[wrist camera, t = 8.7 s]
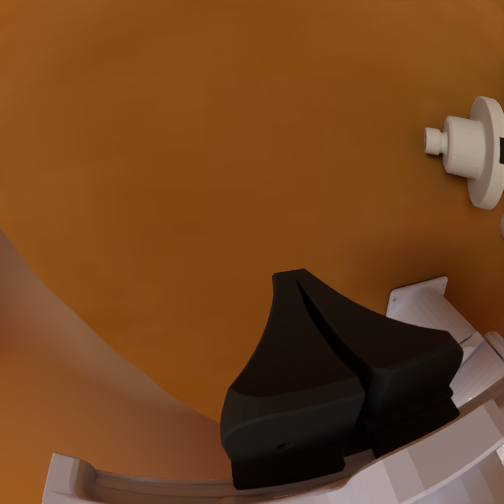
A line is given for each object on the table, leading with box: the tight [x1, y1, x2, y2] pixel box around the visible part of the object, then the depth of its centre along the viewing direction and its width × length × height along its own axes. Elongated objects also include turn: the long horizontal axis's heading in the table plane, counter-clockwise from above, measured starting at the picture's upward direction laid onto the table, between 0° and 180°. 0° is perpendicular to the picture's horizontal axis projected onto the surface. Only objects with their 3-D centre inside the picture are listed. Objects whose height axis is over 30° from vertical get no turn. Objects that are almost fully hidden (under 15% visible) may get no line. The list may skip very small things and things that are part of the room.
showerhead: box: [425, 96, 504, 210], centre depth 16 cm, size 9×7×10 cm
